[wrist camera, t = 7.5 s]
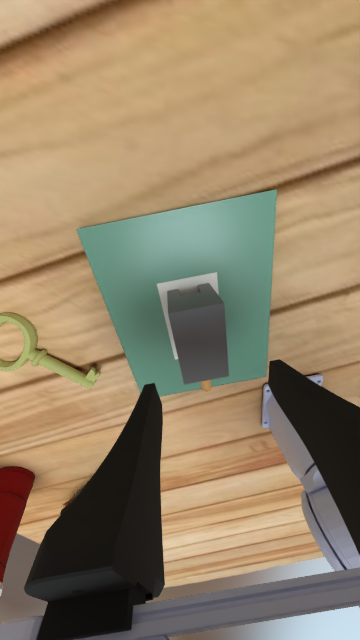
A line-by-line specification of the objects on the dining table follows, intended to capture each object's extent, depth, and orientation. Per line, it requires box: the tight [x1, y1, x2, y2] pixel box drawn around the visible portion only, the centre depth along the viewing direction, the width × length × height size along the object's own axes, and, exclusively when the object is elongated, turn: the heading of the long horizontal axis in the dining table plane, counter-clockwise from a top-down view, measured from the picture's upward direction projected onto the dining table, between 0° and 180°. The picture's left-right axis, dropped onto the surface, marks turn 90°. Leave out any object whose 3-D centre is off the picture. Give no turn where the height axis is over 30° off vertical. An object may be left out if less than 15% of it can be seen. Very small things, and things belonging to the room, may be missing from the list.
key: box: [0, 313, 101, 389], centre depth 20 cm, size 7×12×2 cm, turn 71°
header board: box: [76, 189, 277, 396], centre depth 19 cm, size 20×16×2 cm
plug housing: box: [167, 283, 229, 392], centre depth 17 cm, size 9×4×5 cm, turn 9°
